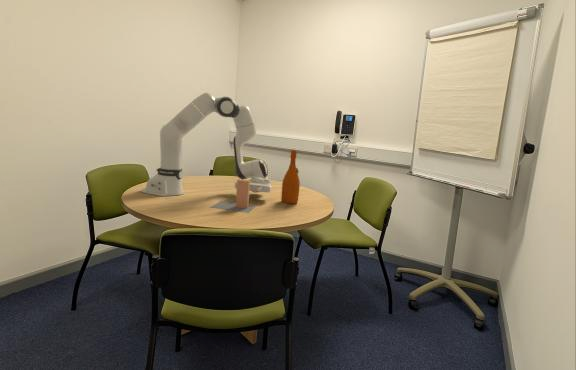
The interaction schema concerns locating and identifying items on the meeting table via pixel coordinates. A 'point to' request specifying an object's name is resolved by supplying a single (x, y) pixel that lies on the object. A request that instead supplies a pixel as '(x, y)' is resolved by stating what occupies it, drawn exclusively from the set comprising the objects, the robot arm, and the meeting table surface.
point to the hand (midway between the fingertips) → (249, 189)
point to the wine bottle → (291, 182)
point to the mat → (232, 207)
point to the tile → (242, 193)
